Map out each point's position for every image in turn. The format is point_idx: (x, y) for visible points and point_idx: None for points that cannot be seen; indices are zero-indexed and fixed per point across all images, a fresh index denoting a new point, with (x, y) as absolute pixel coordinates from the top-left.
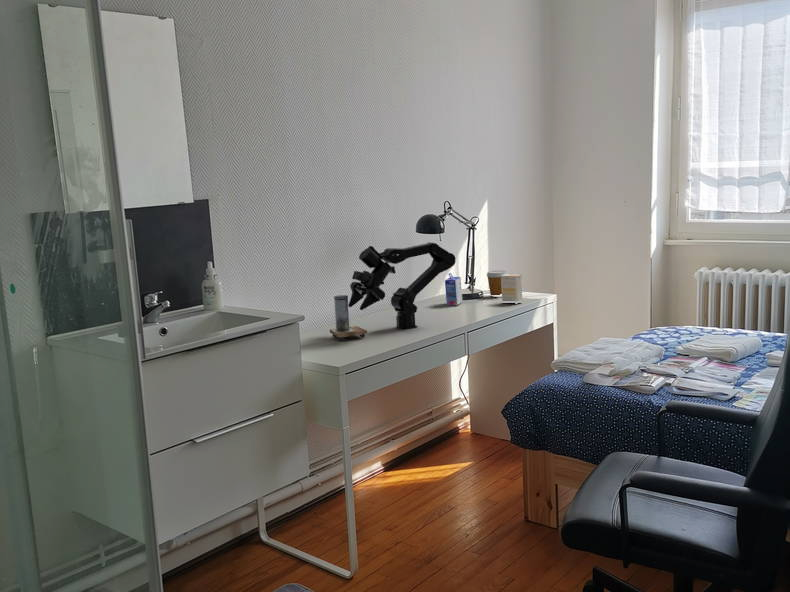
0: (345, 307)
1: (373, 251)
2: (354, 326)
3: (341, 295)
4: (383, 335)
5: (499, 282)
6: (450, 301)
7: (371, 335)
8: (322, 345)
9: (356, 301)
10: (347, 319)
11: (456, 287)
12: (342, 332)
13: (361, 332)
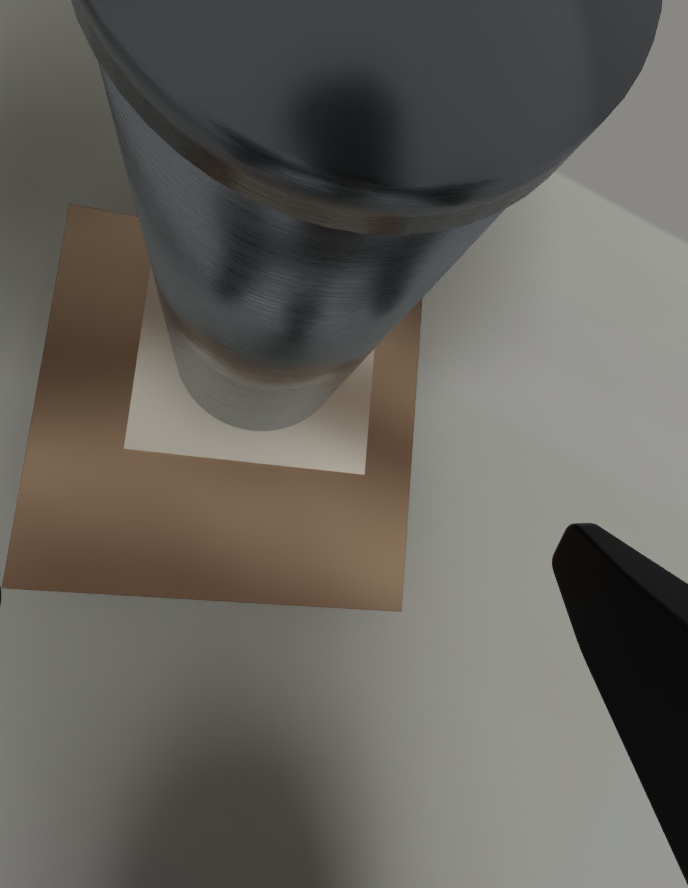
0: (130, 185)
1: None
2: (393, 576)
3: (572, 27)
4: (39, 818)
5: None
6: None
7: (160, 690)
8: (99, 68)
9: (661, 780)
10: (172, 336)
11: None
12: (147, 286)
13: (23, 503)
